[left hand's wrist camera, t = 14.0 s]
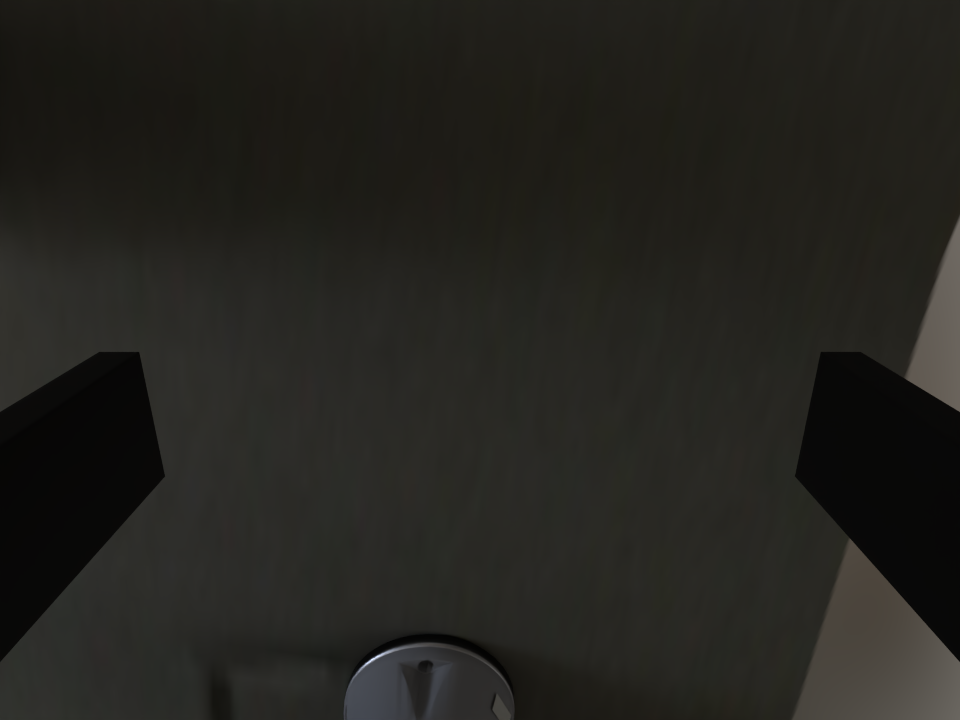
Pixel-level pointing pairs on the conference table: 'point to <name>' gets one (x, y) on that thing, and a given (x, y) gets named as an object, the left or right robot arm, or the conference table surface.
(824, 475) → the left robot arm
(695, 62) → the conference table surface
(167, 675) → the conference table surface
